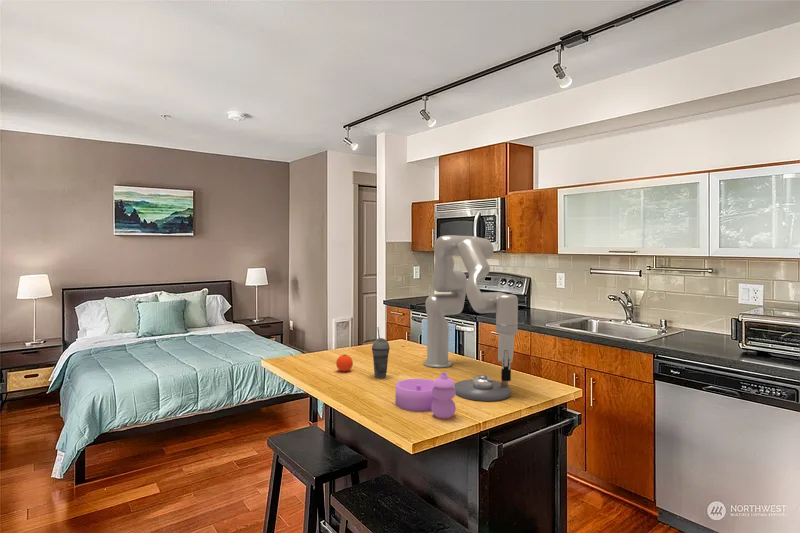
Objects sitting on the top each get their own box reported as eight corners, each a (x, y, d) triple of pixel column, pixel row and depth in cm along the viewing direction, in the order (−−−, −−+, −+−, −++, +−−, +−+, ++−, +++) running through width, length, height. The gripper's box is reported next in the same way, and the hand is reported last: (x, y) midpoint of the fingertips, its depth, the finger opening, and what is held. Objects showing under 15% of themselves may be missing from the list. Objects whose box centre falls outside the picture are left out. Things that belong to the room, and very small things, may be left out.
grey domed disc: (446, 386, 178) (446, 367, 178) (495, 383, 183) (495, 365, 183) (466, 402, 159) (466, 382, 158) (520, 398, 163) (521, 378, 163)
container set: (387, 401, 160) (387, 362, 160) (424, 394, 169) (424, 357, 168) (430, 424, 139) (430, 380, 139) (470, 415, 147) (471, 373, 147)
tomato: (337, 368, 204) (338, 352, 203) (353, 368, 204) (354, 352, 203) (334, 373, 196) (335, 356, 195) (351, 373, 196) (351, 356, 195)
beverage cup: (387, 379, 186) (387, 329, 186) (369, 378, 188) (369, 328, 187) (391, 375, 194) (391, 326, 193) (373, 374, 195) (374, 325, 194)
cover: (469, 385, 173) (469, 374, 172) (487, 383, 175) (487, 372, 175) (478, 390, 166) (478, 379, 166) (496, 389, 168) (496, 377, 168)
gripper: (496, 325, 177) (496, 374, 178) (494, 331, 163) (494, 385, 163) (517, 326, 175) (516, 376, 176) (517, 332, 161) (516, 386, 161)
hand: (506, 380), depth 169 cm, fingers closed
